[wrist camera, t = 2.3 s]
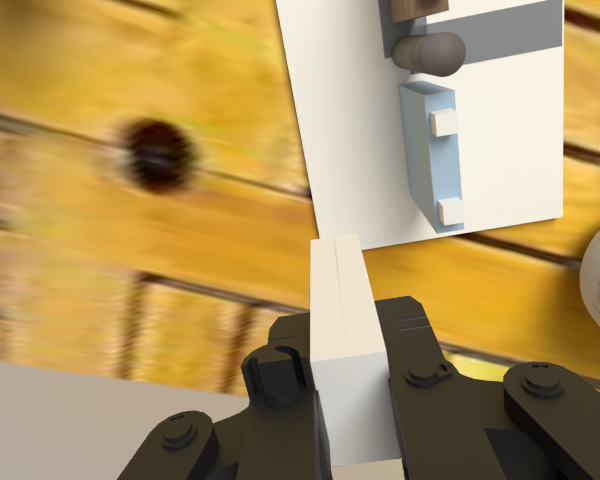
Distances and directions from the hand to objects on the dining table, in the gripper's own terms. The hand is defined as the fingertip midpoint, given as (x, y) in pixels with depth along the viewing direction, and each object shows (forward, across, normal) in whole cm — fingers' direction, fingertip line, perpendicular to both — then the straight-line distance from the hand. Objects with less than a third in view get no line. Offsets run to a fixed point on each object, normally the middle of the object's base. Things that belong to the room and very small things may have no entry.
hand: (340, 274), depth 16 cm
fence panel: (+16, +6, +1) cm, 17 cm away
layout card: (+17, +7, +4) cm, 19 cm away
